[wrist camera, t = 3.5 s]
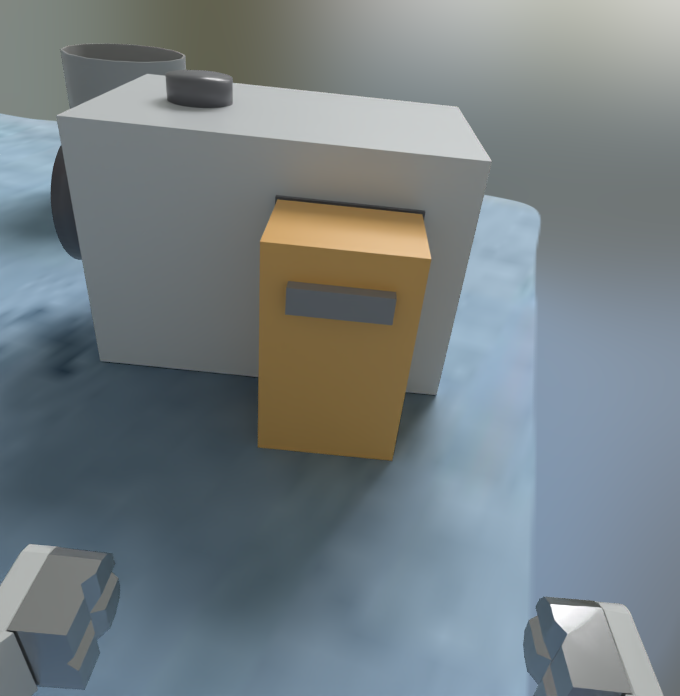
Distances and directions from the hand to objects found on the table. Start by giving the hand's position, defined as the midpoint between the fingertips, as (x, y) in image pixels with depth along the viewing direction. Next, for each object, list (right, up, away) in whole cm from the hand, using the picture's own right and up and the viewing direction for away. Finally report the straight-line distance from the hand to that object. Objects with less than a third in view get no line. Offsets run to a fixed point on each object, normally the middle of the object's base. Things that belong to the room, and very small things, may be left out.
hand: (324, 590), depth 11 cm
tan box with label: (0, +1, +14) cm, 14 cm away
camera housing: (-4, +6, +20) cm, 21 cm away
